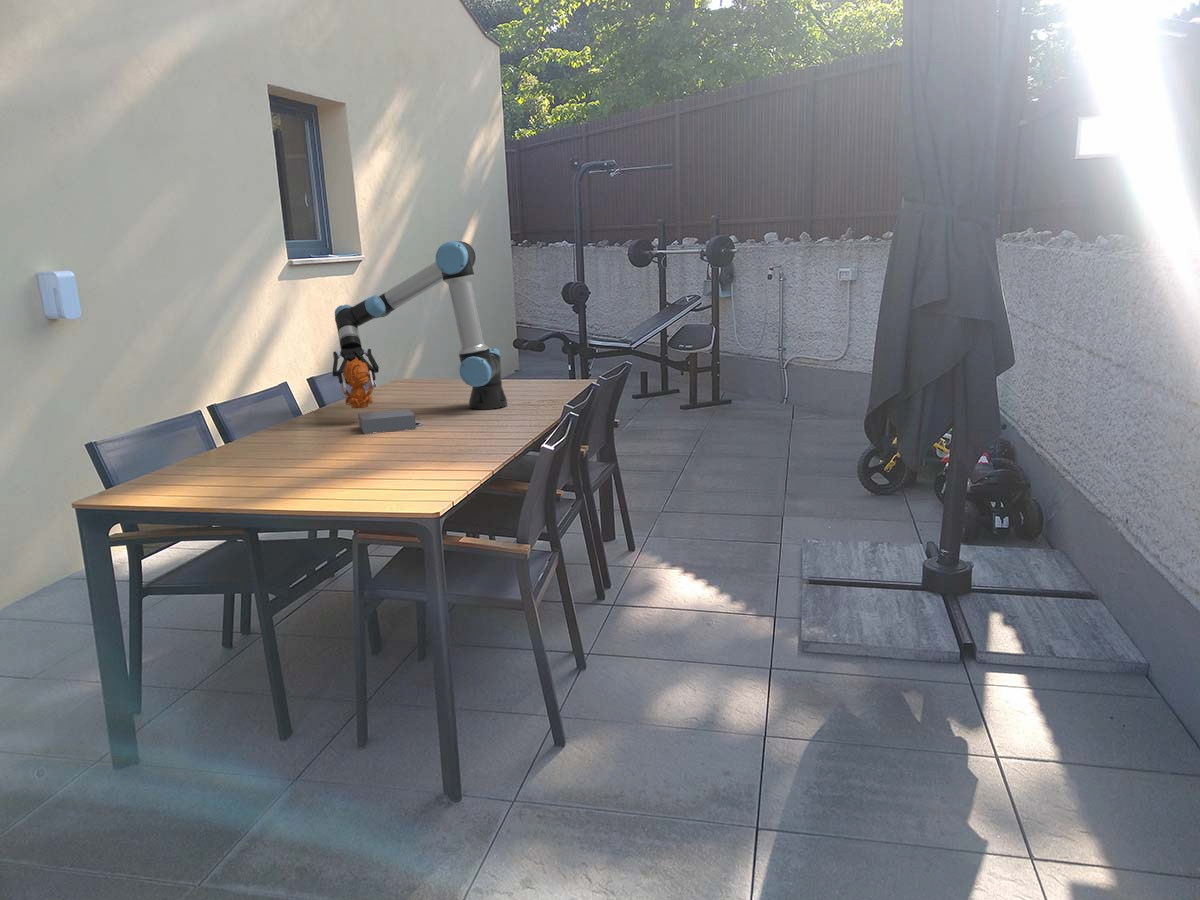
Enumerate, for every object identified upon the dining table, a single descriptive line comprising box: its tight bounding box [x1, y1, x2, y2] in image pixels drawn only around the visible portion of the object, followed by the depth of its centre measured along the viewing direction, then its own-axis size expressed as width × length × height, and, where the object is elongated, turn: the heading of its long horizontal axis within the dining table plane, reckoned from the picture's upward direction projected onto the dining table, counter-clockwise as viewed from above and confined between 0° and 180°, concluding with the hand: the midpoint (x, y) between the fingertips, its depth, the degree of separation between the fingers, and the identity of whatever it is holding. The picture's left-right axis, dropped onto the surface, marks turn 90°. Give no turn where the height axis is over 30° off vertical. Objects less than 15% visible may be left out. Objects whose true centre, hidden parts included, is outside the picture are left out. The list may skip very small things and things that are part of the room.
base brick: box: [357, 408, 417, 435], centre depth 321 cm, size 18×14×5 cm
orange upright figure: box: [341, 357, 374, 409], centre depth 330 cm, size 11×11×18 cm
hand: (359, 388), depth 327 cm, fingers closed on orange upright figure, 9 cm apart
